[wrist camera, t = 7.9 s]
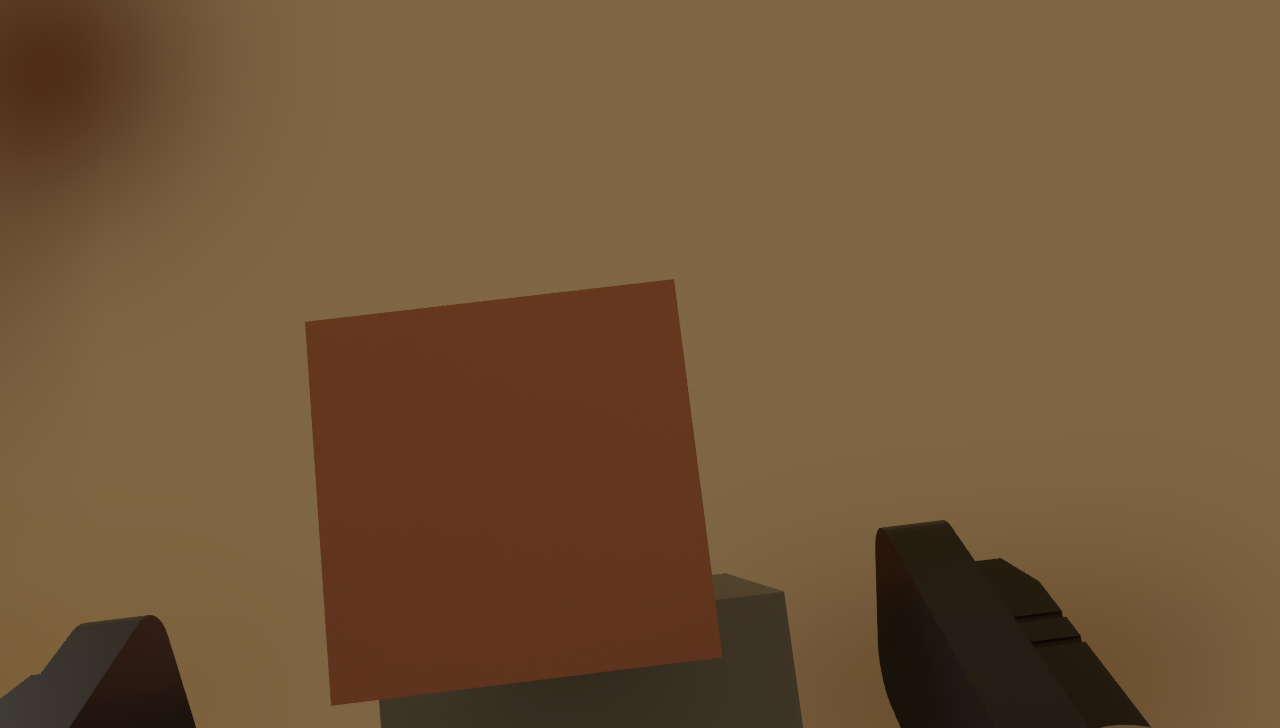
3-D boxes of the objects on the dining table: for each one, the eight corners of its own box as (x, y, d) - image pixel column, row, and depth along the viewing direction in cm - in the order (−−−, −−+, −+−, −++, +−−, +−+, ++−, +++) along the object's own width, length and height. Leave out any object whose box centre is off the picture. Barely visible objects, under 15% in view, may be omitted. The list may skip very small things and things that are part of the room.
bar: (722, 657, 11) (674, 279, 12) (331, 705, 11) (305, 321, 11) (662, 578, 36) (648, 463, 37) (546, 593, 36) (535, 476, 37)
